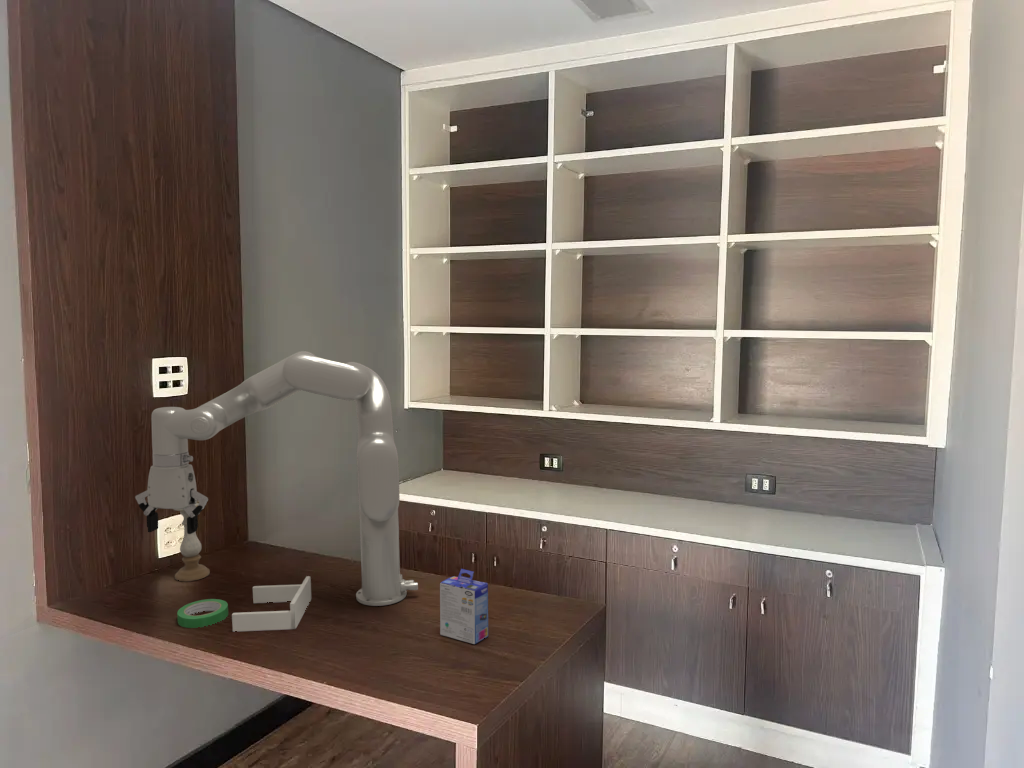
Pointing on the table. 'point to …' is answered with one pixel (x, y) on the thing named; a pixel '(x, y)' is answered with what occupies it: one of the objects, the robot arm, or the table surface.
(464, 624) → the ink cartridge box
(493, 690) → the table surface
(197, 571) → the candle holder
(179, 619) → the tape roll
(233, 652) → the table surface
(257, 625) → the box
